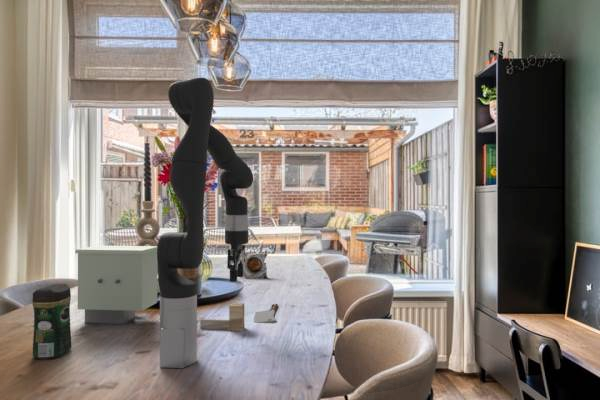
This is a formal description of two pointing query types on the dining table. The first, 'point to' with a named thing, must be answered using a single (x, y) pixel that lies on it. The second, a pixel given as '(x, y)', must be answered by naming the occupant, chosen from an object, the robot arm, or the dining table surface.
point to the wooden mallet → (232, 324)
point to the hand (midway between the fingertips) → (236, 279)
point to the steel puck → (141, 319)
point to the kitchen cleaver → (266, 315)
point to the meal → (254, 266)
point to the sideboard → (116, 282)
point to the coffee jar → (51, 321)
